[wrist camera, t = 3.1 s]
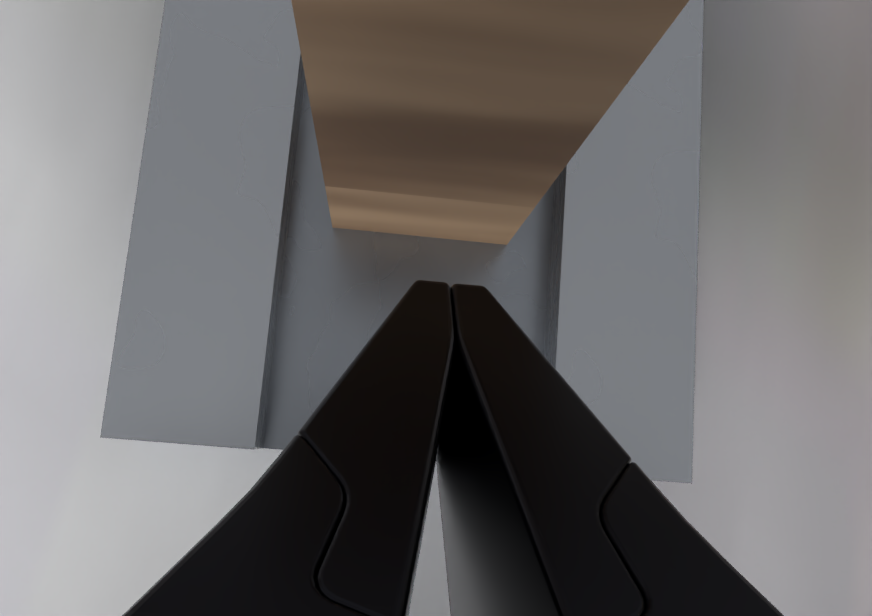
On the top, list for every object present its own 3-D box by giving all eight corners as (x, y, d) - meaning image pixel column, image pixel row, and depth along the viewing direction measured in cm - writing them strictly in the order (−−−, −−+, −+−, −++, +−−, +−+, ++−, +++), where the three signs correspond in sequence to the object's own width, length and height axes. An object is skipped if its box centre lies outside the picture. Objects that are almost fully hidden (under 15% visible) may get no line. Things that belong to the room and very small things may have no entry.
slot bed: (653, 477, 18) (692, 483, 16) (133, 436, 17) (100, 437, 15) (675, -209, 21) (711, -282, 19) (234, -273, 20) (217, -357, 18)
